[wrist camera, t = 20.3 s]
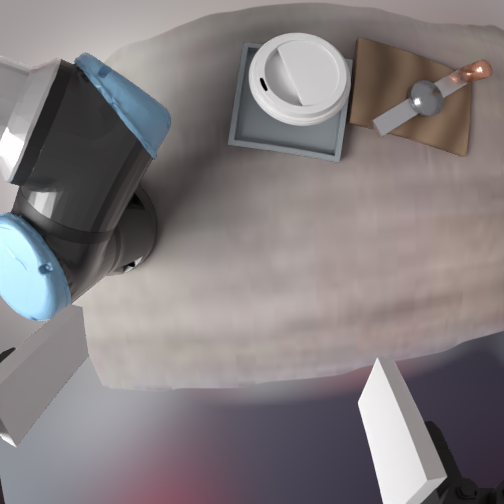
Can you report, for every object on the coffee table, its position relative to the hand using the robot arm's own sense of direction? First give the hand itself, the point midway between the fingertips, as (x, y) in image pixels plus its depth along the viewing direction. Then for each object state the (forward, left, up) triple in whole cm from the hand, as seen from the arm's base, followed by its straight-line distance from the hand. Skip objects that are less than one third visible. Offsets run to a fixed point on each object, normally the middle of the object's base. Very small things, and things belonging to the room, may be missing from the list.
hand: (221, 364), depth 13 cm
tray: (+2, +17, -33) cm, 37 cm away
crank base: (+20, +22, -33) cm, 44 cm away
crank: (+20, +21, -31) cm, 43 cm away
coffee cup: (+2, +17, -32) cm, 36 cm away
